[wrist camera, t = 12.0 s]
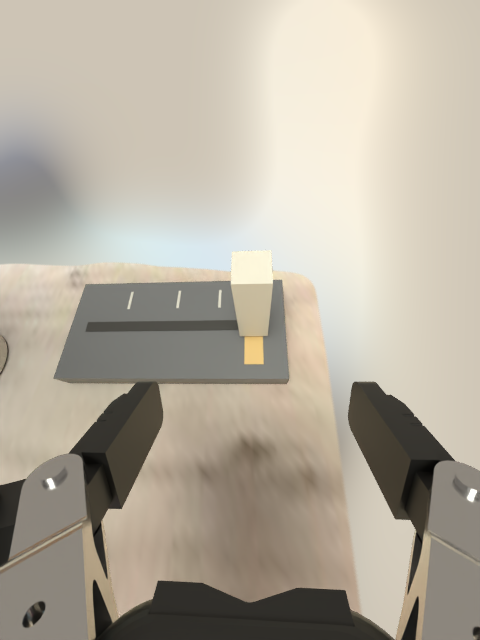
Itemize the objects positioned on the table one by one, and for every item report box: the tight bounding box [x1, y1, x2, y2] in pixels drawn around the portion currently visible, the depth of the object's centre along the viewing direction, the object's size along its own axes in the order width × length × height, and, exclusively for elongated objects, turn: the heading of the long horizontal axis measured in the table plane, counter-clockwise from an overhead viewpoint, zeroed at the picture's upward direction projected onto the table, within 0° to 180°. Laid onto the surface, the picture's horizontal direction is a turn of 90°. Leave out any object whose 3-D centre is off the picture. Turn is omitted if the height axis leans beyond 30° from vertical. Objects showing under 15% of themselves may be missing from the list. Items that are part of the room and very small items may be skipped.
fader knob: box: [231, 250, 273, 336], centre depth 22 cm, size 3×3×10 cm
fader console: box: [54, 280, 289, 384], centre depth 29 cm, size 25×12×3 cm, turn 89°
